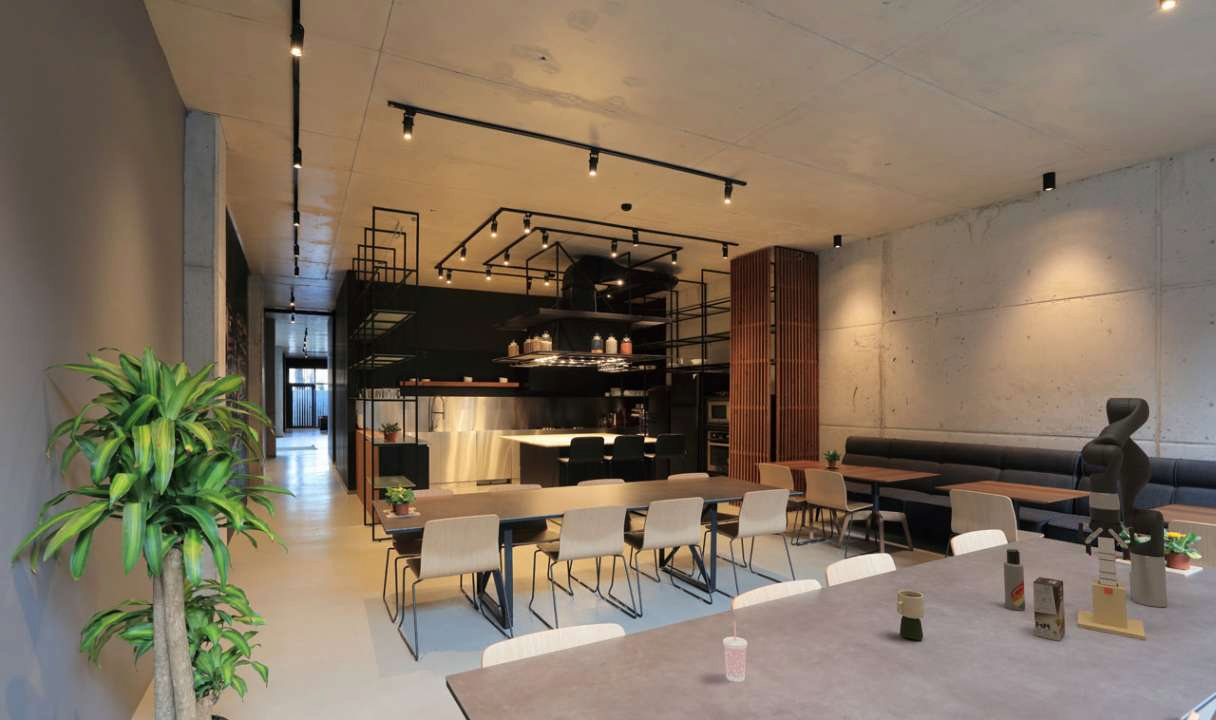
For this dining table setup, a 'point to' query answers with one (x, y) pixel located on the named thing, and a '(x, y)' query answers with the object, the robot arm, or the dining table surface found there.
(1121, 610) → the stand
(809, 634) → the dining table surface
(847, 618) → the dining table surface
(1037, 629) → the coffee box
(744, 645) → the beverage cup
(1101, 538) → the column
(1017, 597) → the lotion bottle
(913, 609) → the character mug
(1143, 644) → the dining table surface
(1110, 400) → the robot arm
